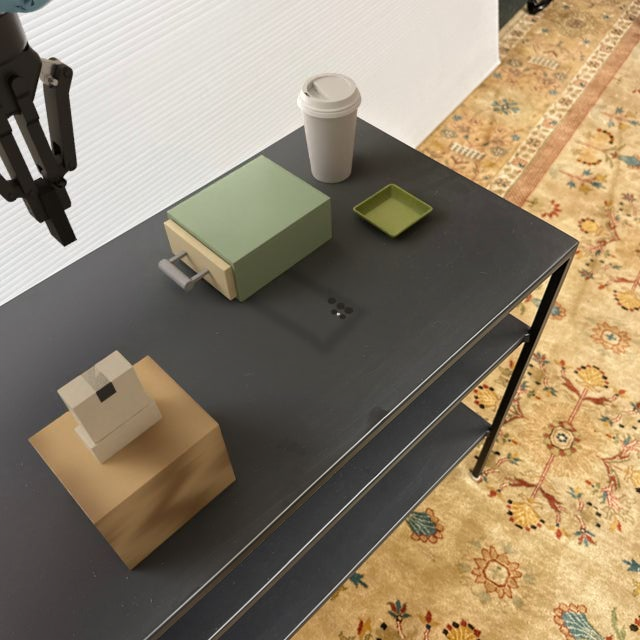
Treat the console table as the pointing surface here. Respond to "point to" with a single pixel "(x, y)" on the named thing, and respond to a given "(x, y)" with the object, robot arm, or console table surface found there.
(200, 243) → the drawer
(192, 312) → the console table surface
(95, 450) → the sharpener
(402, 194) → the olive green square tray
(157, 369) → the stand
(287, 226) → the cabinet
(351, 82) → the coffee cup
